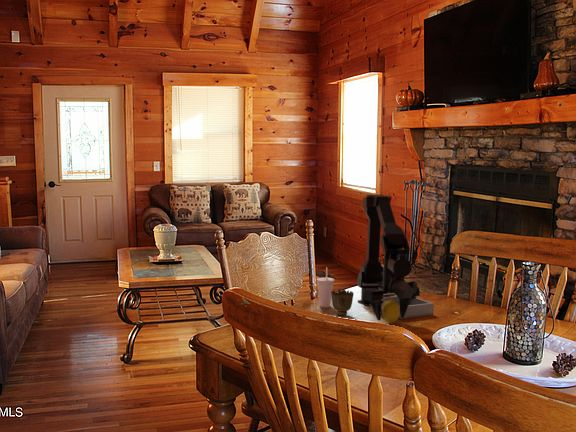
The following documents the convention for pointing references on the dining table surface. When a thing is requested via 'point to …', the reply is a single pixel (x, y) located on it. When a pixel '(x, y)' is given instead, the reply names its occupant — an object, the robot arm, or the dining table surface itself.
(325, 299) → the smoothie
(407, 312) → the bin
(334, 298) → the cup
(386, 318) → the lemon
